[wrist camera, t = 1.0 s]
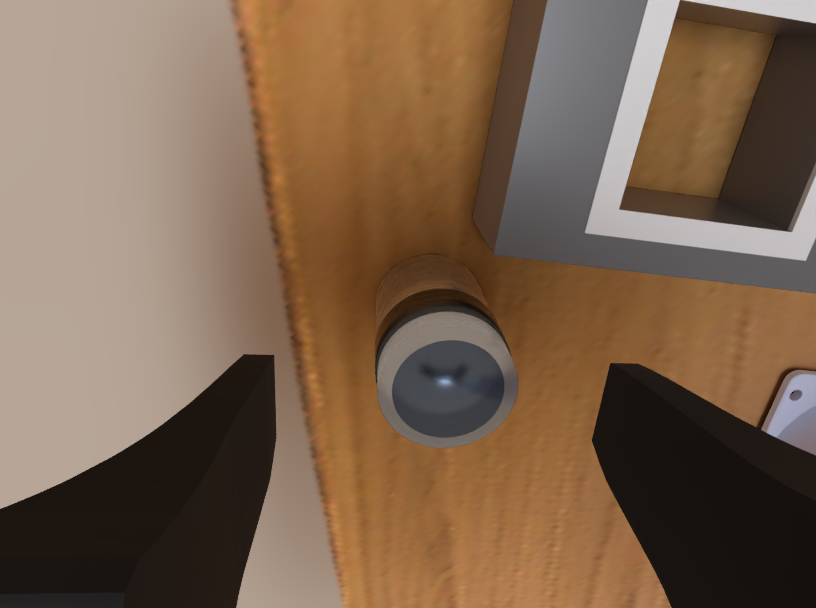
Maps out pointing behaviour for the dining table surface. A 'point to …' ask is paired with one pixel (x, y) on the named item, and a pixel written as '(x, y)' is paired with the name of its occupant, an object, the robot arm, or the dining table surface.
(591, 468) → the dining table surface
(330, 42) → the dining table surface
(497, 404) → the lens
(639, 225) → the grey hollow block
